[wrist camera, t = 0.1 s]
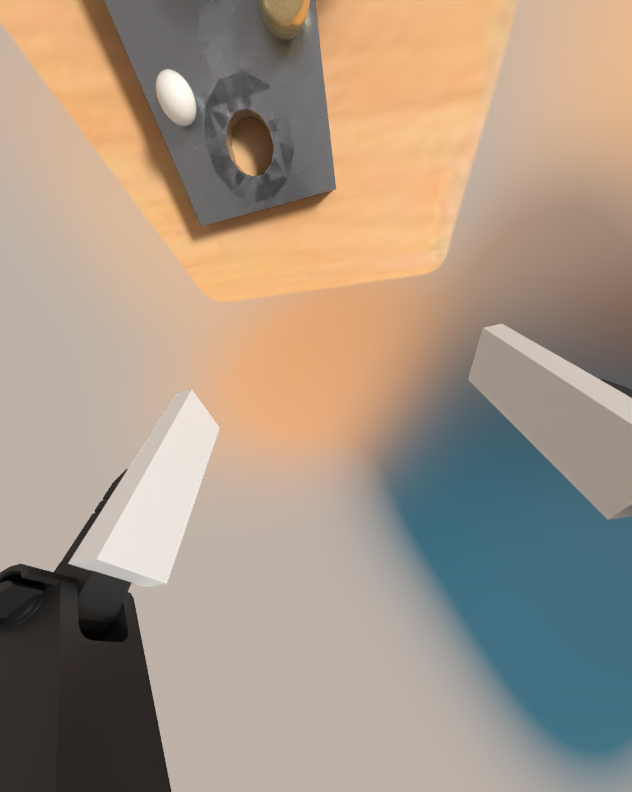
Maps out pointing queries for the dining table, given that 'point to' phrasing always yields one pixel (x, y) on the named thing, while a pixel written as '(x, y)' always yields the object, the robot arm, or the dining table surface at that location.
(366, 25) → the dining table surface
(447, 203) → the dining table surface
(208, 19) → the plate
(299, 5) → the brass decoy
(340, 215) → the dining table surface
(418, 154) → the dining table surface
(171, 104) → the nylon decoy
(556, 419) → the robot arm
